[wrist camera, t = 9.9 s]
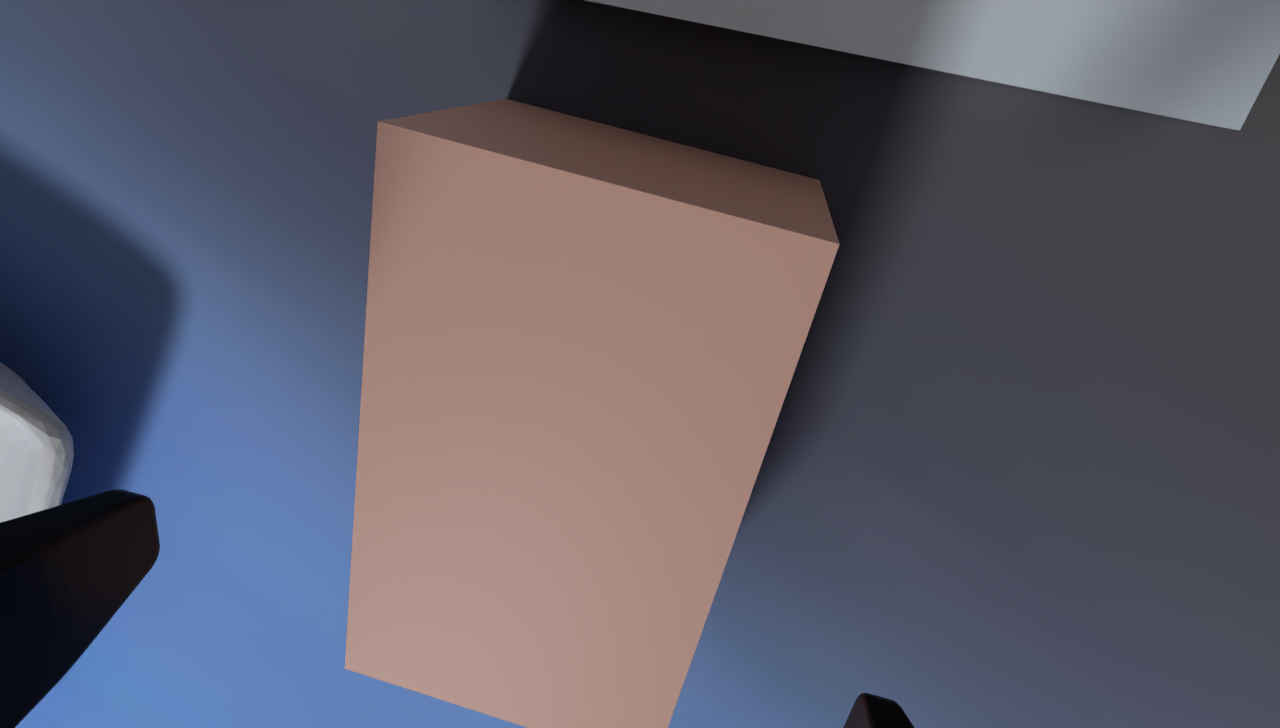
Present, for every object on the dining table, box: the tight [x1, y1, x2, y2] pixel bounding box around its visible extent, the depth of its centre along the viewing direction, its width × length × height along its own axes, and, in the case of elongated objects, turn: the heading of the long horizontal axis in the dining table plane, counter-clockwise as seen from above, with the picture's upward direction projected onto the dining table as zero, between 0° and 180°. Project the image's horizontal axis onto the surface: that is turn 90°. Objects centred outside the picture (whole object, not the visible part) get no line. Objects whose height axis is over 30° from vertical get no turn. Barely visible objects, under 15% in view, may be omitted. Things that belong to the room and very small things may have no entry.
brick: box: [345, 99, 839, 728], centre depth 13 cm, size 10×6×5 cm, turn 167°
